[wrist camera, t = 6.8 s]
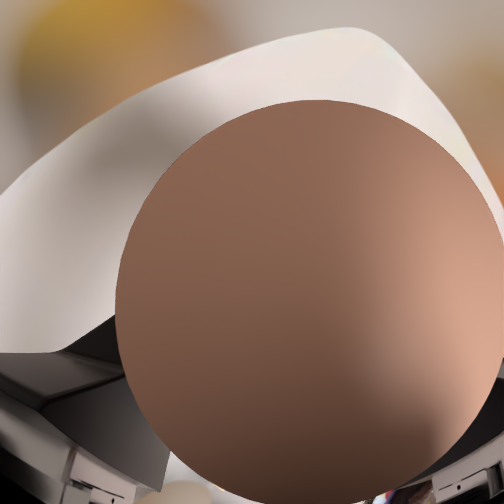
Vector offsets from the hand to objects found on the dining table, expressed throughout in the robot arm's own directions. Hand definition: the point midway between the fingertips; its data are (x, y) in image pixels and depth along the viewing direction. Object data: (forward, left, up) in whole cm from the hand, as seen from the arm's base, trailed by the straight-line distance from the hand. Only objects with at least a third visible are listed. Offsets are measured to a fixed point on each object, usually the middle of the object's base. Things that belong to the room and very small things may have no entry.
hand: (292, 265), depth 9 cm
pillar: (-1, +1, -7) cm, 7 cm away
